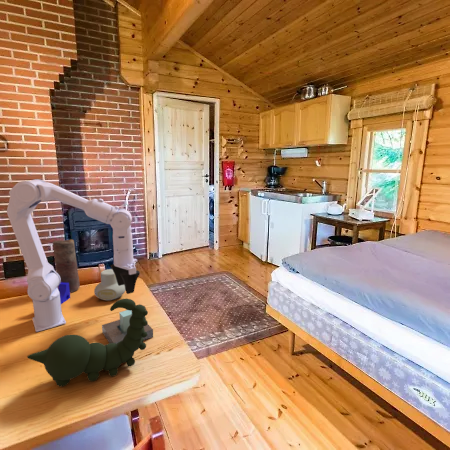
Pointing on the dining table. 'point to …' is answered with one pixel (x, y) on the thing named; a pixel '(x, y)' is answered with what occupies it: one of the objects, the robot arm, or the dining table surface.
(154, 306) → the dining table surface
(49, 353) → the toy figurine
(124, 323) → the plug
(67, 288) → the cable clip
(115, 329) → the port block
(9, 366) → the dining table surface
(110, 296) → the air freshener
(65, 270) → the candle
